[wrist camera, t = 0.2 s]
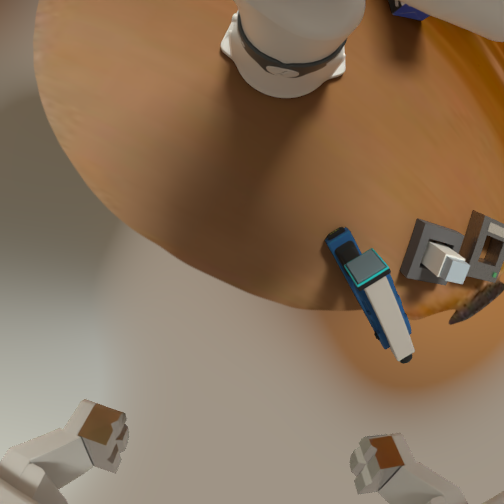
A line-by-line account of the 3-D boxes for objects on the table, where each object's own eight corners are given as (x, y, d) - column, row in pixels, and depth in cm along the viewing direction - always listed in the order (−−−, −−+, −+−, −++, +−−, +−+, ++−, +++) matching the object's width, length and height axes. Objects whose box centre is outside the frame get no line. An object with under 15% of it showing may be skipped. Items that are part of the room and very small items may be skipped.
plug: (422, 237, 46) (452, 258, 36) (441, 242, 46) (472, 263, 36) (415, 257, 47) (443, 282, 38) (434, 262, 47) (463, 286, 38)
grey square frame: (417, 218, 44) (425, 223, 41) (455, 230, 45) (464, 235, 42) (399, 270, 48) (406, 277, 45) (438, 278, 48) (445, 285, 46)
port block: (472, 210, 43) (486, 215, 39) (502, 223, 44) (515, 229, 40) (453, 267, 47) (465, 276, 43) (484, 274, 48) (495, 283, 44)
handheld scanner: (340, 211, 44) (388, 261, 26) (378, 286, 49) (423, 357, 31) (316, 226, 45) (348, 284, 27) (356, 299, 50) (393, 374, 32)
